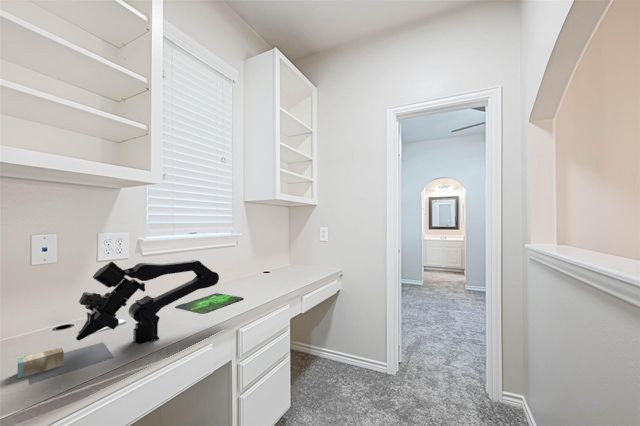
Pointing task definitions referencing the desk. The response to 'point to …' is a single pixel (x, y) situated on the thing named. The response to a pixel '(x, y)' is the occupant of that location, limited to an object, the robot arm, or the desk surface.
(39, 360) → the birch block
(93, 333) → the external hard drive
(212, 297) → the mouse mat
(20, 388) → the desk surface
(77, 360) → the rubber mat
